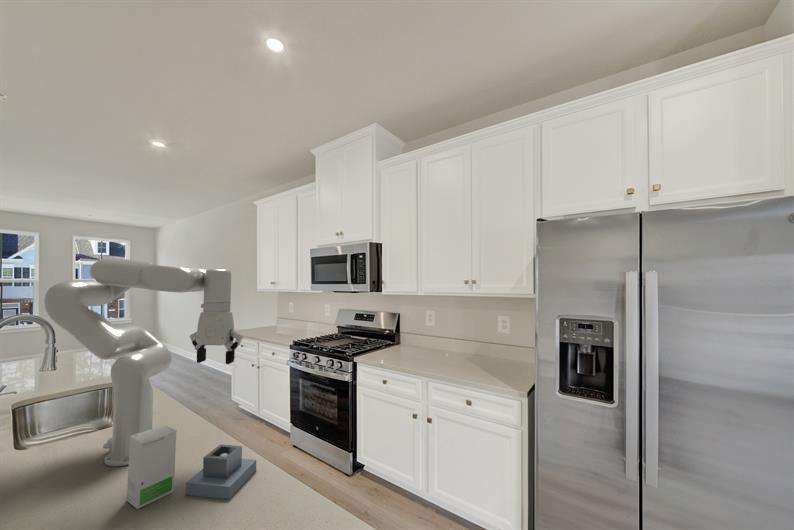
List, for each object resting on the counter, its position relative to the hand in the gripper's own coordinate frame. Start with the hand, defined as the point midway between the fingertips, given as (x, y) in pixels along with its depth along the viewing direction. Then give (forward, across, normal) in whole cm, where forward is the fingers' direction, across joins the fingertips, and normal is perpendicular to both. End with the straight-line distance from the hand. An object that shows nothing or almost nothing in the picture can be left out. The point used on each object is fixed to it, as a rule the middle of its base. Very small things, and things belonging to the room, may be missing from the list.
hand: (215, 362), depth 101 cm
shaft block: (+28, +12, -12) cm, 33 cm away
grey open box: (+25, +12, -12) cm, 30 cm away
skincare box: (+28, -2, -20) cm, 35 cm away
